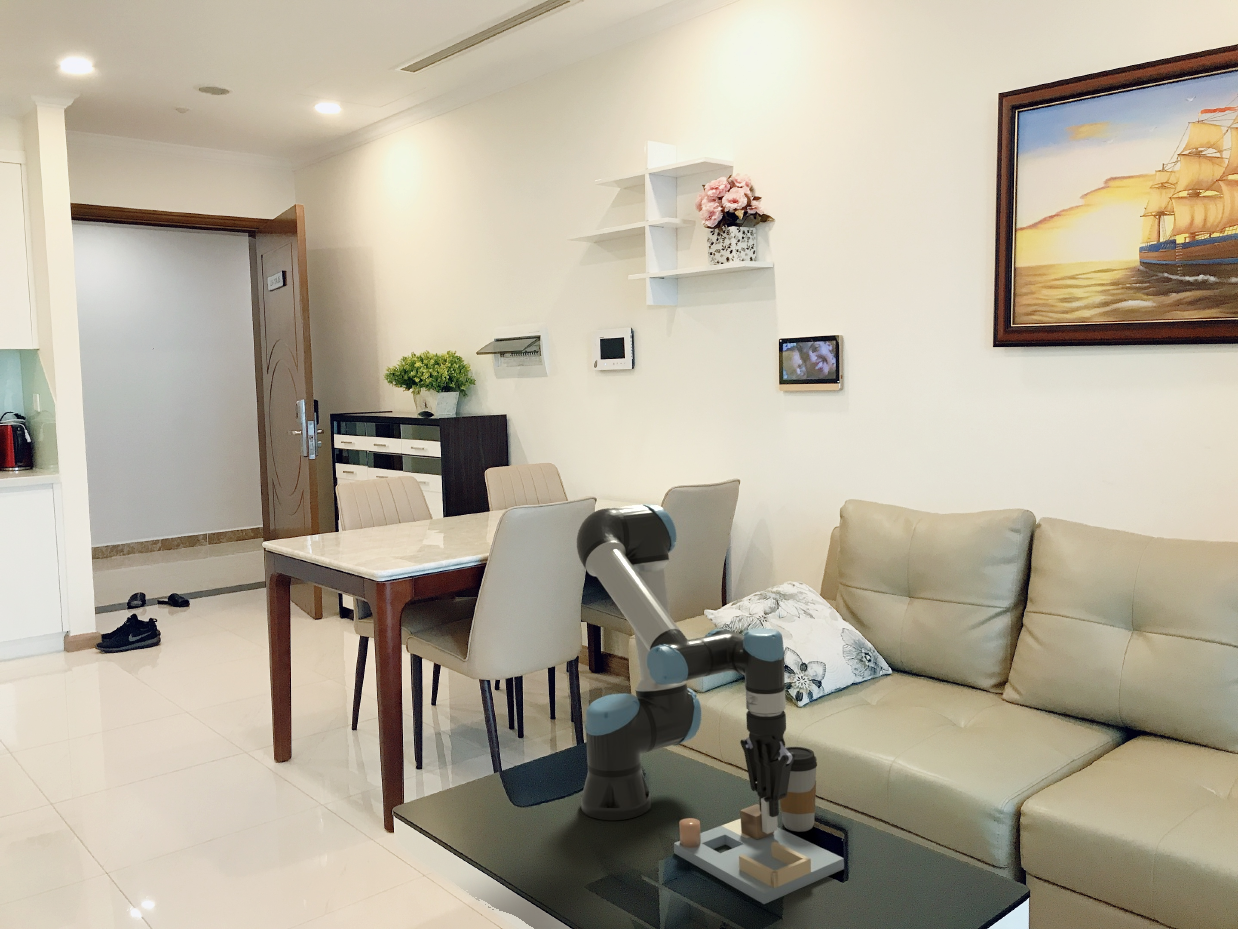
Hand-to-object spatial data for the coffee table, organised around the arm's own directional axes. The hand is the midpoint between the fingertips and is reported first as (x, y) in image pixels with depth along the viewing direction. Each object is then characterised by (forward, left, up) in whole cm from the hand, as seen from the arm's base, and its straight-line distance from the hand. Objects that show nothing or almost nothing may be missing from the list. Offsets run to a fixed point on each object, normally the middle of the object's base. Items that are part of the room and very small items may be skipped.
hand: (769, 830), depth 186 cm
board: (+2, -6, -4) cm, 7 cm away
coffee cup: (-4, +11, -4) cm, 13 cm away
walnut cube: (-3, 0, -2) cm, 3 cm away
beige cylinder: (-8, -13, -2) cm, 16 cm away
